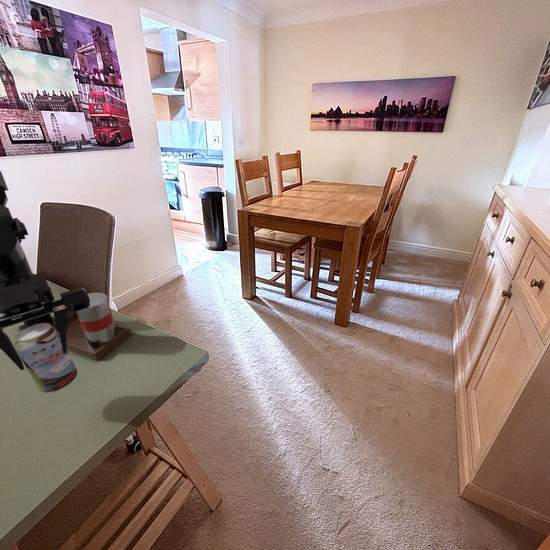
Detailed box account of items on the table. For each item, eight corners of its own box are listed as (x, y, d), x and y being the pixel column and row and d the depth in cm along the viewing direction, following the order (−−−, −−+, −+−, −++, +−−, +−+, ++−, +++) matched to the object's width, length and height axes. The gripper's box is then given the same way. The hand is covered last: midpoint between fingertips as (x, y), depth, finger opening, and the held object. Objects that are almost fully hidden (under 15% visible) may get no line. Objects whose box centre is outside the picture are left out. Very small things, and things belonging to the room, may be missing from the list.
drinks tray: (39, 339, 75) (36, 332, 74) (77, 316, 83) (74, 310, 82) (97, 360, 69) (94, 353, 68) (131, 334, 77) (129, 327, 76)
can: (81, 346, 72) (65, 304, 66) (104, 329, 78) (92, 290, 72) (102, 353, 70) (88, 311, 64) (124, 336, 76) (113, 296, 70)
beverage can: (61, 400, 52) (39, 347, 46) (24, 392, 53) (-2, 339, 47) (87, 373, 57) (70, 322, 52) (54, 366, 59) (33, 316, 53)
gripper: (-86, 280, 41) (-50, 387, 39) (72, 247, 52) (106, 329, 50) (-55, 302, 50) (-24, 390, 48) (74, 270, 61) (103, 340, 59)
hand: (44, 361), depth 51 cm, fingers closed on beverage can, 6 cm apart
